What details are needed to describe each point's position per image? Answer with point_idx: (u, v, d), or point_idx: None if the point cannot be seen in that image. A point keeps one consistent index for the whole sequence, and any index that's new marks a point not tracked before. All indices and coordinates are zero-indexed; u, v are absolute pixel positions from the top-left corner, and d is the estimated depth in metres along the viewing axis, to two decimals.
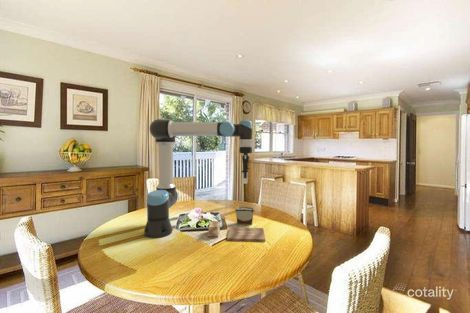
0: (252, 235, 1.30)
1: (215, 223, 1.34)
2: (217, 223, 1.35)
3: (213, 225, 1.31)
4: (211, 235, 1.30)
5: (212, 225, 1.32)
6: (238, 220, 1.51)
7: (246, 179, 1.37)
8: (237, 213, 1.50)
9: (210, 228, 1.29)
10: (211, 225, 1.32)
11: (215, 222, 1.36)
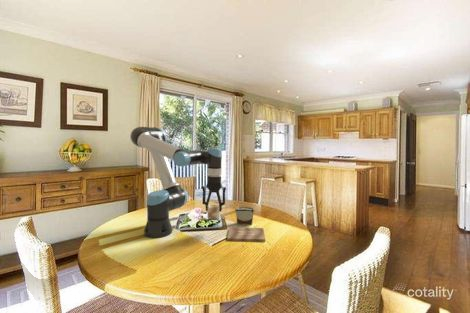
0: (252, 235, 1.30)
1: (214, 206, 1.33)
2: (216, 206, 1.34)
3: (213, 208, 1.31)
4: (210, 217, 1.29)
5: (212, 208, 1.31)
6: (238, 220, 1.51)
7: None
8: (237, 213, 1.50)
9: (210, 210, 1.29)
10: (210, 208, 1.31)
11: (214, 206, 1.35)
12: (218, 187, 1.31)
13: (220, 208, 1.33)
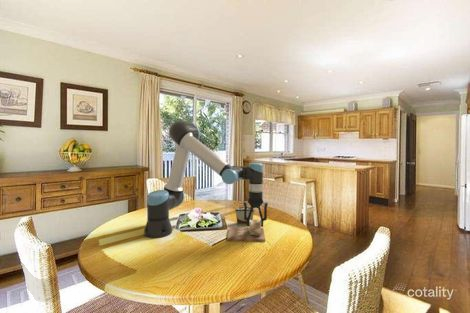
0: None
1: (256, 222, 1.33)
2: (258, 221, 1.34)
3: (255, 223, 1.30)
4: (253, 233, 1.28)
5: (254, 223, 1.30)
6: (238, 220, 1.51)
7: (249, 228, 1.32)
8: (237, 213, 1.50)
9: (252, 226, 1.28)
10: (253, 223, 1.30)
11: (255, 221, 1.35)
12: (260, 202, 1.31)
13: (262, 223, 1.32)
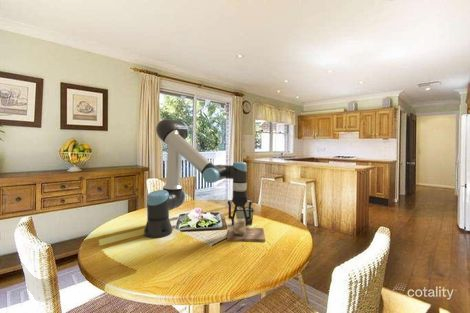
0: (252, 235, 1.30)
1: (240, 221, 1.33)
2: (242, 220, 1.34)
3: (239, 222, 1.30)
4: (237, 232, 1.29)
5: (238, 222, 1.31)
6: None
7: None
8: (237, 213, 1.50)
9: (236, 225, 1.28)
10: (237, 222, 1.30)
11: (240, 220, 1.35)
12: (244, 201, 1.31)
13: (246, 222, 1.32)
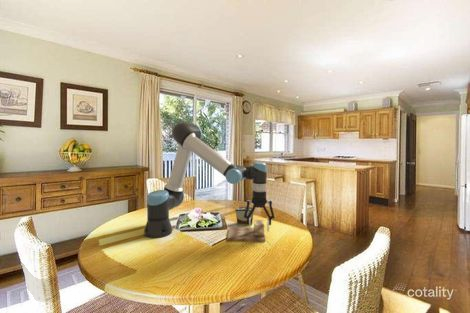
0: (252, 235, 1.30)
1: (260, 222, 1.32)
2: (261, 222, 1.33)
3: (259, 224, 1.30)
4: (257, 234, 1.28)
5: (258, 224, 1.30)
6: (238, 220, 1.51)
7: (249, 226, 1.32)
8: (237, 213, 1.50)
9: (256, 227, 1.28)
10: (256, 224, 1.30)
11: (259, 221, 1.34)
12: (264, 202, 1.30)
13: (270, 222, 1.31)
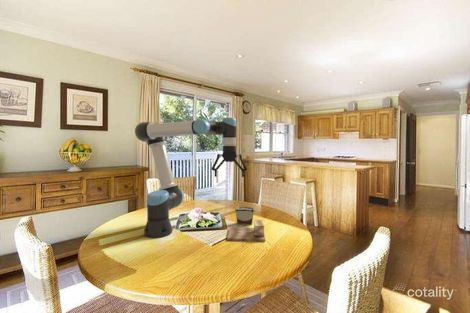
0: (252, 235, 1.30)
1: (260, 222, 1.32)
2: (261, 222, 1.33)
3: (259, 224, 1.30)
4: (257, 234, 1.28)
5: (258, 224, 1.30)
6: (238, 220, 1.51)
7: None
8: (237, 213, 1.50)
9: (256, 227, 1.28)
10: (256, 224, 1.30)
11: (259, 221, 1.34)
12: (234, 157, 1.34)
13: (242, 174, 1.35)
